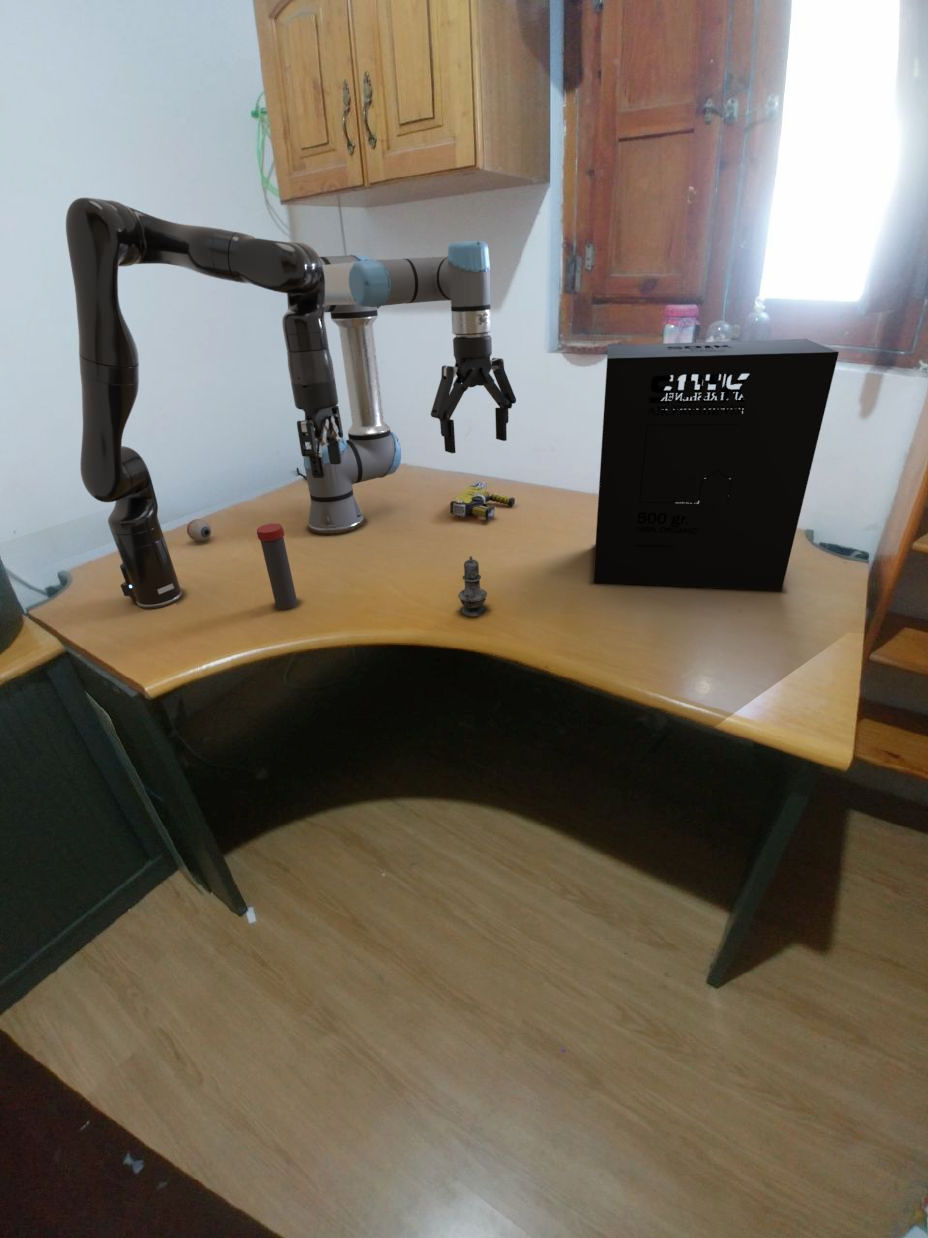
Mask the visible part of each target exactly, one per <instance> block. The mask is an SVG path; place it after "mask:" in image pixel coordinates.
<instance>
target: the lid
mask: <svg viewBox="0 0 928 1238" xmlns="http://www.w3.org/2000/svg"><path fill="white" fill-rule="evenodd" d="M284 531H285V530H284V528H283V524H280V523H275V522H273V523H266V524H263V525H261V526H258V527H257V528H256V535H257V539H258V540H259V541H260V540H261V541H274V540H278V539H280V538H282V537H283V538H284V536H285V532H284ZM261 541H260V542H261Z"/></svg>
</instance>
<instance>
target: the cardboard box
mask: <svg viewBox="0 0 928 1238" xmlns="http://www.w3.org/2000/svg"><path fill="white" fill-rule="evenodd" d="M839 353H840V352H839V351H837V350H835V349H832V348H830V347H828V346H825V345H823V344H819V343H817V342H815V341H812V340H810V339H808V338H795V339H791V338H790V339H789V338H787V339H765V340H764V339H761V340H759V339H758V340H732V341H730V340H729V341H728V340H727V341H698V342H697V341H696V342H669V343H639V344H638V343H636V344H635V343H634V344H632V343H631V344H609V345H607V355H606V356H607V357H606V371H605V384H604V400H603V401H604V403H603V418H602V432H601V433H602V436H601V450H600V453H601V454H600V464H599V465H600V466H599V467H600V468H599V481H598V482H599V483H598V484H599V485H598V498H597V515H596V530H595V545H594V546H595V548H594V565H593V583H594V584H614V585H615V584H616V585H618V584H619V585H637V586H639V585H641V586H658V587H659V586H663V587H681V588H682V587H684V588H703V589H705V588H707V589H727V590H728V589H729V590H747V591H767V592H768V591H769V592H771V591H772V592H782V591H783V587H784V583H785V578H786V575H787V572H788V571H787V570H788V567H789V562H790V558H791V554H792V549H793V545H794V542H795V537H796V532H797V528H798V525H799V520H800V516H801V512H802V509H803V508H802V507H803V503H804V499H805V495H806V490H807V487H808V482H809V478H810V476H811V475H810V474H811V470H812V467H813V462H814V457H815V454H816V449H817V445H818V442H819V436H820V432H821V428H822V424H823V420H824V416H825V411H826V408H827V404H828V399H829V395H830V391H831V387H832V382H833V379H834V374H835V370H836V366H837V362H838V358H839ZM742 374H743V375H747V377H746V378H744V379H739V378H740V377H741V376H742ZM693 375H695V376H696V375H697V382H696V380H695V379H693V380H692V377H693ZM707 375H709V378H708V379H707ZM682 376H685V380H684V382H683V389H679V385H680V379H679V378H680V377H682ZM730 376H731V377H730ZM729 377H730V383H729V385H730V386H735V385H740V386H739V388H729V387H728V379H729ZM706 379H707V380H706ZM696 385H699V389H695V388H696ZM713 385H714V386H715V387H714V389H709V386H713ZM667 387H670V389H666V388H667Z"/></svg>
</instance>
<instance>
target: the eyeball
mask: <svg viewBox="0 0 928 1238" xmlns="http://www.w3.org/2000/svg"><path fill="white" fill-rule="evenodd" d="M186 533H187V535H188V537H189V538H190V539H191V540H192V541H194V542H205V541H207V540H208V539H209V538H210V537H211V534H212V527H211V524H210V523H209V522H207V520H204V519H201V518H195V519H193V520H191V521H190V522H189V523H187V527H186Z"/></svg>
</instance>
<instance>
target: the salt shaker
mask: <svg viewBox="0 0 928 1238" xmlns="http://www.w3.org/2000/svg"><path fill="white" fill-rule="evenodd" d="M463 572H464V574H463V576H462V579H463V583H464V588H463V589H462V590H461V591H459V592H458V594H457V596H458V597H457V598H458V599H459V601H460V603H461V605H462V606H461V608H460V613H461V615H463V616H466V617H479V616H482V615H484V614H486V612H487V607H486V606H485V605H484V604H485V602H486V601H487V597H488V591H486V590H485V589H483V588H481V581H480V580H482V575H480V567H479V562H478V561H477V560H475V559H473V556H472V555H469V557H468V559H467V560H465V561H464V563H463Z"/></svg>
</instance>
